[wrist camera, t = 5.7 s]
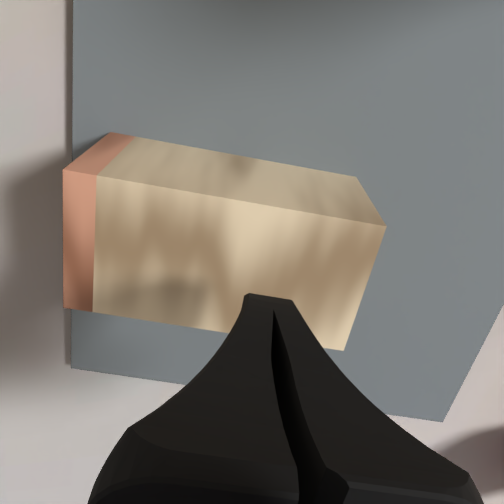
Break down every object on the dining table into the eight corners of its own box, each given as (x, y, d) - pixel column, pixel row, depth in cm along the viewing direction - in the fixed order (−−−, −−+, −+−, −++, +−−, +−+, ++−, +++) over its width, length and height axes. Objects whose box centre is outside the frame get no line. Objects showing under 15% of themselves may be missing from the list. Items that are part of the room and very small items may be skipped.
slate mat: (439, 415, 26) (442, 422, 25) (74, 361, 24) (70, 368, 24) (641, 16, 17) (652, 16, 16) (79, -107, 15) (73, -111, 15)
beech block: (343, 351, 17) (63, 307, 16) (325, 280, 21) (105, 244, 20) (386, 226, 14) (62, 169, 14) (356, 177, 19) (110, 131, 18)
